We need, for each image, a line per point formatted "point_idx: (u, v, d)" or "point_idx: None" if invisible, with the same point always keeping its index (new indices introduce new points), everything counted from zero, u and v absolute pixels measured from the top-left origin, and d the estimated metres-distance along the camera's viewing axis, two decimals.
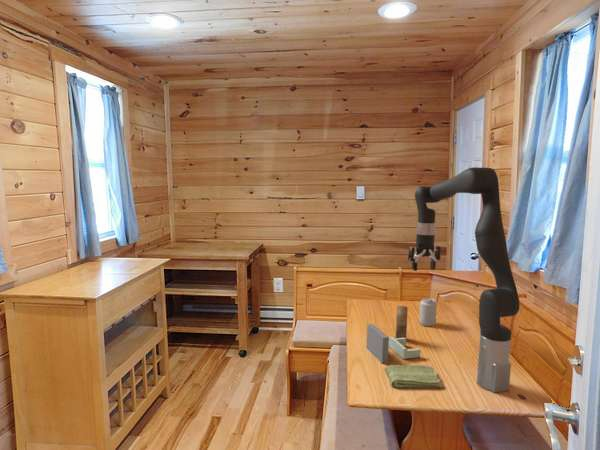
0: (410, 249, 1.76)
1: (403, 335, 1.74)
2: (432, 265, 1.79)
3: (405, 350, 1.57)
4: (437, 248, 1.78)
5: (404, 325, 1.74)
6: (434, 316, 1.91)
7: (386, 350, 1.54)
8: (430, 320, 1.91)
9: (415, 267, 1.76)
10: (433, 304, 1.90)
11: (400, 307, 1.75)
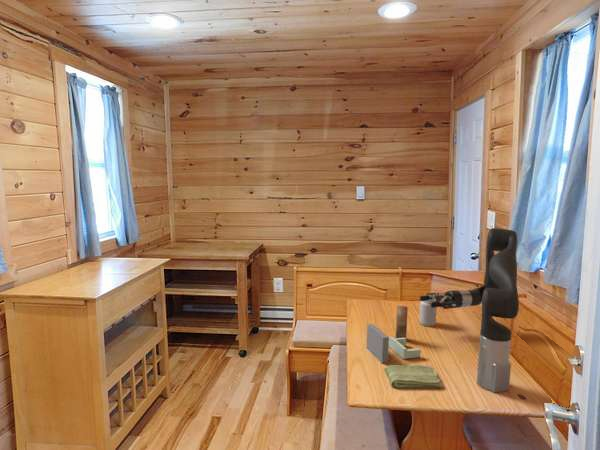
0: None
1: (403, 335, 1.74)
2: None
3: (405, 350, 1.57)
4: None
5: (404, 325, 1.74)
6: (434, 316, 1.91)
7: (386, 350, 1.54)
8: (430, 320, 1.91)
9: (423, 296, 1.82)
10: None
11: (400, 307, 1.75)
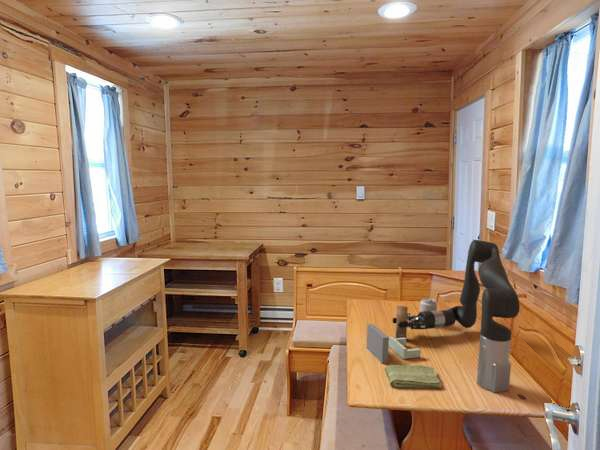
0: None
1: (403, 335, 1.74)
2: None
3: (405, 350, 1.57)
4: None
5: None
6: None
7: (386, 350, 1.54)
8: None
9: (395, 318, 1.78)
10: (433, 304, 1.90)
11: (400, 307, 1.75)
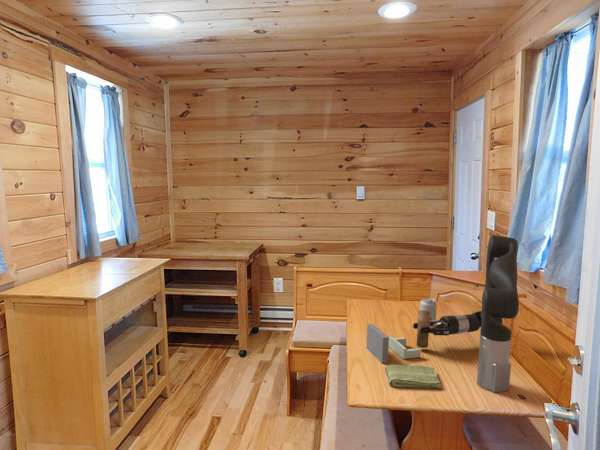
0: None
1: (425, 341, 1.63)
2: None
3: (405, 350, 1.57)
4: None
5: None
6: (434, 316, 1.91)
7: (386, 350, 1.54)
8: None
9: (416, 323, 1.67)
10: (433, 304, 1.90)
11: (421, 312, 1.64)
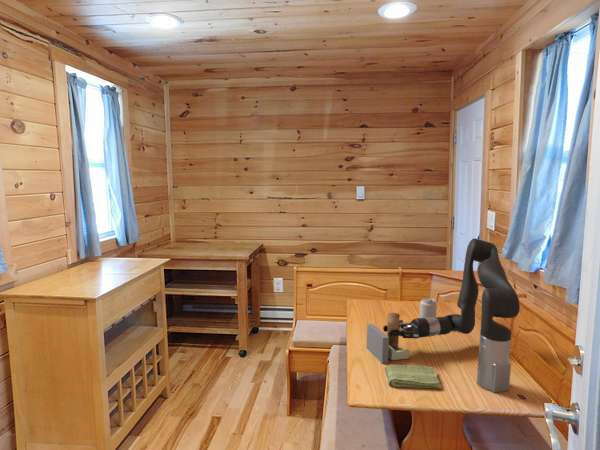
0: None
1: (395, 344, 1.60)
2: None
3: (393, 351, 1.56)
4: None
5: None
6: (434, 316, 1.91)
7: (386, 350, 1.54)
8: None
9: (387, 325, 1.64)
10: (433, 304, 1.90)
11: (391, 314, 1.60)
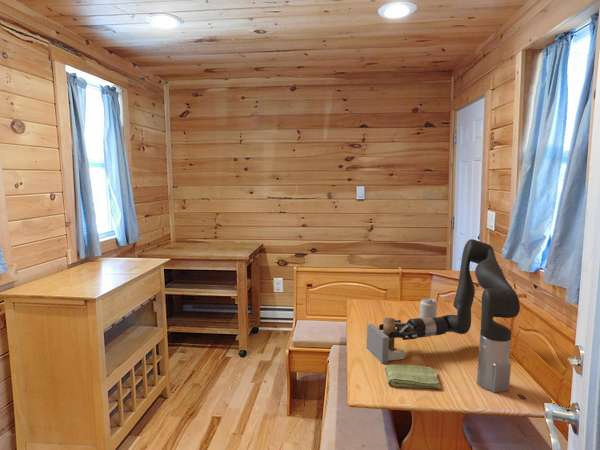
0: None
1: (391, 350, 1.60)
2: None
3: (389, 352, 1.55)
4: None
5: (391, 339, 1.59)
6: (434, 316, 1.91)
7: (386, 350, 1.54)
8: None
9: (382, 324, 1.65)
10: (433, 304, 1.90)
11: (386, 319, 1.60)
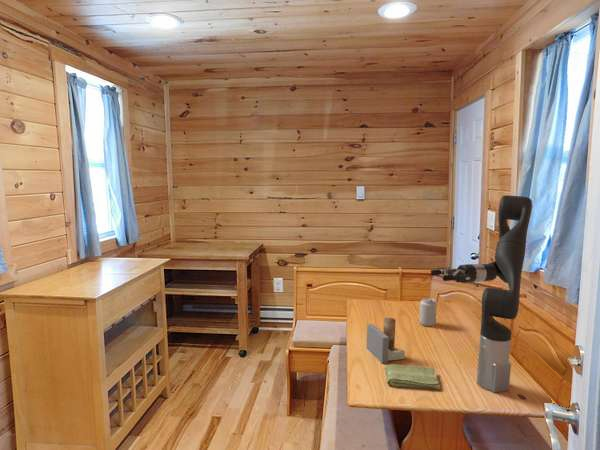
0: None
1: (391, 350, 1.60)
2: None
3: (389, 352, 1.55)
4: None
5: (392, 339, 1.59)
6: (434, 316, 1.91)
7: (386, 350, 1.54)
8: (430, 320, 1.91)
9: None
10: (433, 304, 1.90)
11: (387, 319, 1.60)
